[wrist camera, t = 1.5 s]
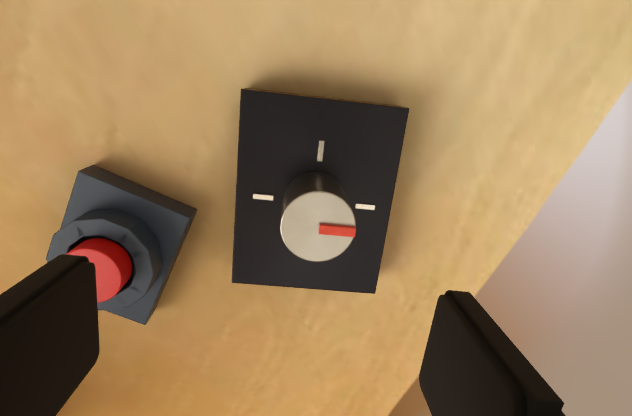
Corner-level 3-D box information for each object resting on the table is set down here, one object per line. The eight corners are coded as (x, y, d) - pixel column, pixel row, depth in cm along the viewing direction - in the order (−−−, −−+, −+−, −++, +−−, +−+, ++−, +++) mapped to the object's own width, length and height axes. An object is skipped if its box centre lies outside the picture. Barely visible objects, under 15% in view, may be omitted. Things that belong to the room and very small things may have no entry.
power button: (82, 228, 25) (66, 238, 23) (140, 251, 26) (129, 263, 24) (65, 276, 26) (50, 289, 25) (122, 297, 27) (111, 311, 25)
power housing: (93, 164, 27) (60, 177, 24) (197, 209, 29) (182, 228, 25) (57, 274, 30) (22, 302, 26) (154, 310, 32) (134, 342, 28)
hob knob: (280, 227, 27) (276, 261, 22) (286, 167, 26) (283, 188, 20) (341, 233, 27) (351, 267, 22) (349, 174, 26) (362, 196, 21)
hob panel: (246, 88, 26) (240, 88, 24) (399, 106, 27) (410, 108, 25) (236, 267, 31) (231, 284, 28) (369, 278, 31) (375, 295, 29)
